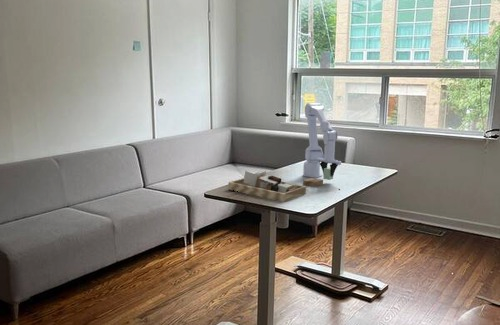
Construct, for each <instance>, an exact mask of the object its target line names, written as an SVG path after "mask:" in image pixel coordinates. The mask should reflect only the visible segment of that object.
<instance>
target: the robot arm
mask: <svg viewBox="0 0 500 325" xmlns="http://www.w3.org/2000/svg"><path fill="white" fill-rule="evenodd" d="M324 111H325V107H324V104H323V103H322V102H313V103H312V102H307V103H306V104H305V106H304V115H305V118H306V120H307V129H308V141H309V143H308V144H309V145H308V147H306V149H305V155H304V159H305V161H304V162H303V172H302V173H303V174H302V176H303V177H307V178H315V179H318V178H319V177H322V176H323V175H324V168H327V167H328V165H329V168H330V170H331V173H330V176H331V177H332V176H333V177H334V174H335V171H336V170H337V167H338V166H341V165H342V161H341V160H337V159H335V154H336V153H335V152H336V149H335V148H336V142H337V140H338V133H337V131H336V130H335V129H333V126H332V125H331V123H330V121H328V120H327V118H326V116H325V113H324ZM317 120H318V121H319V123H320V124H319V127H320V130H321V131H322V133H323V135H322V139H323V144H324V149H323V148H322V147H321V146H320V145H319V140H318V128H317ZM323 150H324V152H323ZM321 170H322V174H323V175H322V174H320V173H321Z"/></svg>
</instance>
